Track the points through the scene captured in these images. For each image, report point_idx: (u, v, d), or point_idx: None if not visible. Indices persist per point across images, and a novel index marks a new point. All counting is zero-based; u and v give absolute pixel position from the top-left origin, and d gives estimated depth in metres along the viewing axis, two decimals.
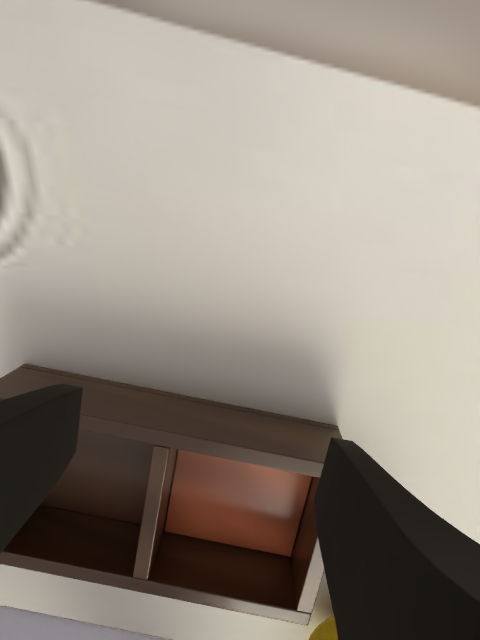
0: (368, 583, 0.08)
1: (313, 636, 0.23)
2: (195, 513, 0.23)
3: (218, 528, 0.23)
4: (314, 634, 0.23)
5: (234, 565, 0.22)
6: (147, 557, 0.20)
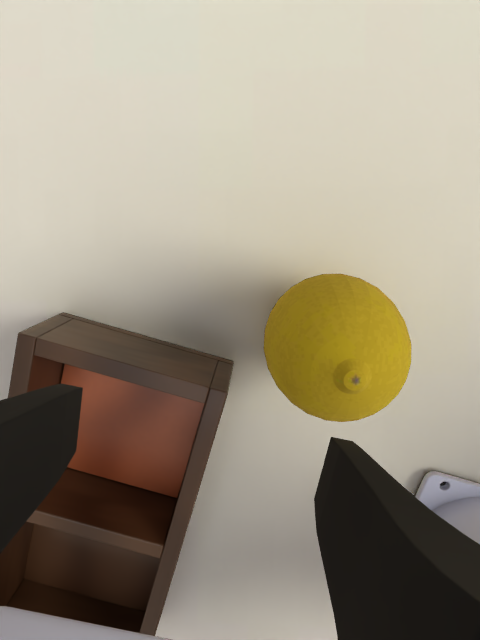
0: (368, 583, 0.08)
1: None
2: (154, 465, 0.22)
3: (173, 446, 0.22)
4: None
5: None
6: (134, 541, 0.19)
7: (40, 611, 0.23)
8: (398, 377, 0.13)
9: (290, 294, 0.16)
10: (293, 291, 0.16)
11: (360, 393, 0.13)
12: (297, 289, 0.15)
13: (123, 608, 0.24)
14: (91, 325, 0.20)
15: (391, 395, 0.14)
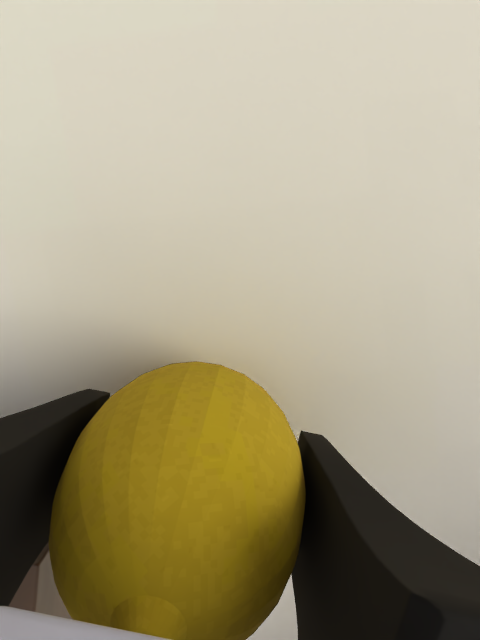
0: (323, 574, 0.08)
1: None
2: None
3: None
4: None
5: None
6: None
7: None
8: (256, 600, 0.07)
9: (94, 417, 0.09)
10: (98, 412, 0.09)
11: None
12: (103, 409, 0.09)
13: None
14: None
15: (251, 628, 0.07)
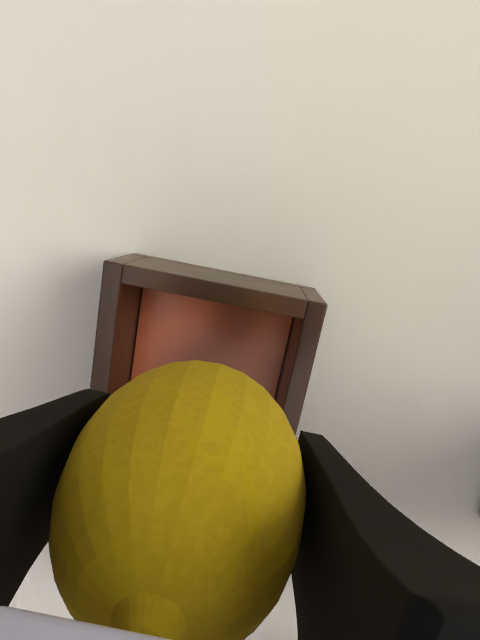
0: (323, 574, 0.08)
1: None
2: None
3: None
4: None
5: (284, 375, 0.19)
6: None
7: None
8: (257, 598, 0.07)
9: (94, 415, 0.09)
10: (98, 410, 0.09)
11: None
12: (104, 407, 0.09)
13: None
14: (166, 261, 0.19)
15: (252, 626, 0.07)
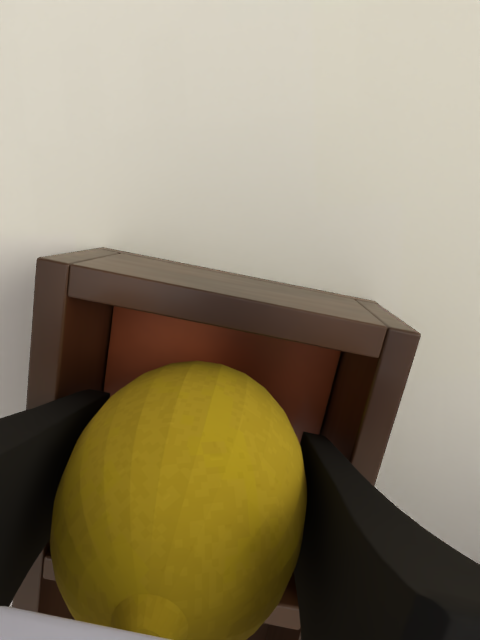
0: (326, 574, 0.08)
1: None
2: None
3: None
4: None
5: (332, 437, 0.12)
6: None
7: None
8: (257, 600, 0.07)
9: (95, 416, 0.09)
10: (99, 410, 0.09)
11: None
12: (105, 408, 0.09)
13: None
14: (150, 259, 0.13)
15: (253, 627, 0.07)
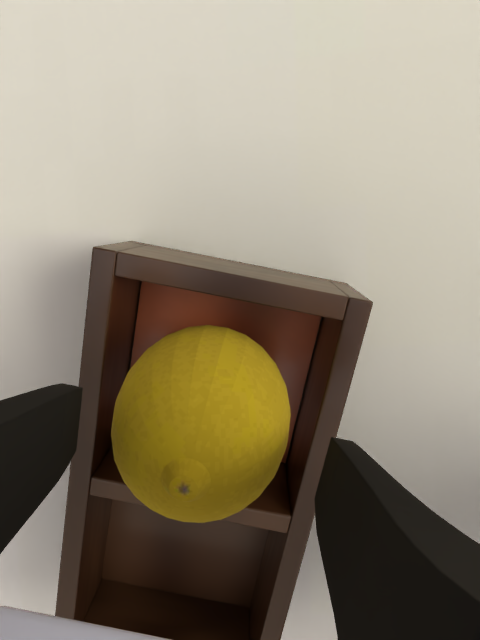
0: (368, 583, 0.08)
1: None
2: None
3: None
4: None
5: (312, 388, 0.16)
6: (254, 514, 0.15)
7: (128, 615, 0.19)
8: (255, 470, 0.10)
9: (138, 360, 0.12)
10: (141, 356, 0.12)
11: (201, 500, 0.10)
12: (145, 354, 0.12)
13: (223, 604, 0.20)
14: (170, 250, 0.16)
15: (252, 491, 0.11)
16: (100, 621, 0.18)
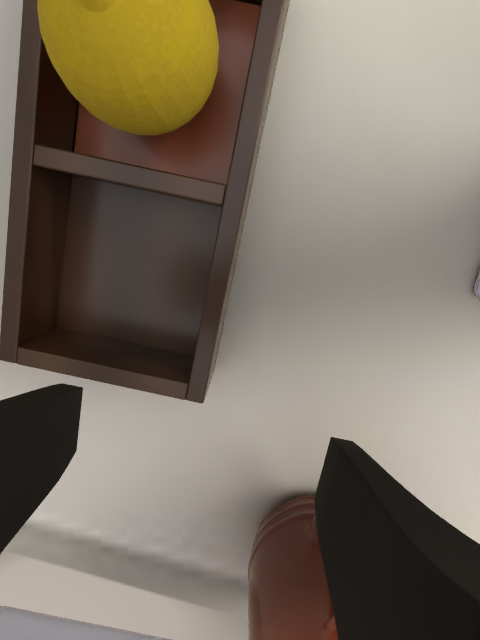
0: (368, 583, 0.08)
1: None
2: (202, 146, 0.18)
3: (224, 115, 0.18)
4: None
5: None
6: (190, 182, 0.16)
7: (79, 343, 0.19)
8: (166, 2, 0.11)
9: None
10: None
11: (111, 11, 0.11)
12: None
13: (174, 352, 0.21)
14: None
15: (164, 32, 0.11)
16: (50, 341, 0.19)
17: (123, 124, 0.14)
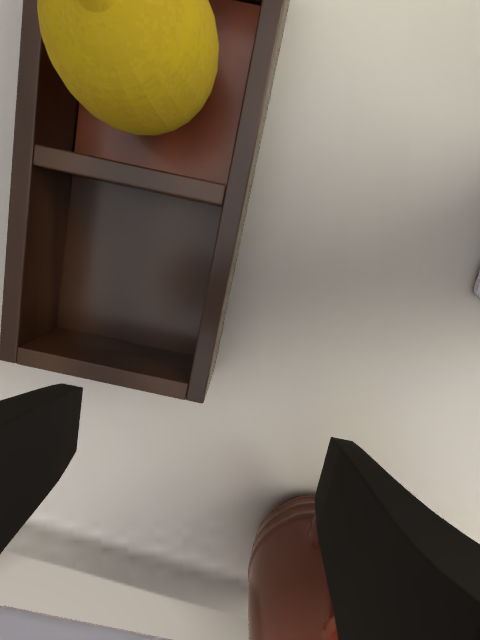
0: (368, 583, 0.08)
1: None
2: (202, 146, 0.18)
3: (224, 115, 0.18)
4: None
5: None
6: (190, 182, 0.16)
7: (79, 343, 0.19)
8: (165, 2, 0.11)
9: None
10: None
11: (111, 11, 0.11)
12: None
13: (174, 352, 0.21)
14: None
15: (164, 32, 0.11)
16: (50, 341, 0.19)
17: (123, 124, 0.14)
